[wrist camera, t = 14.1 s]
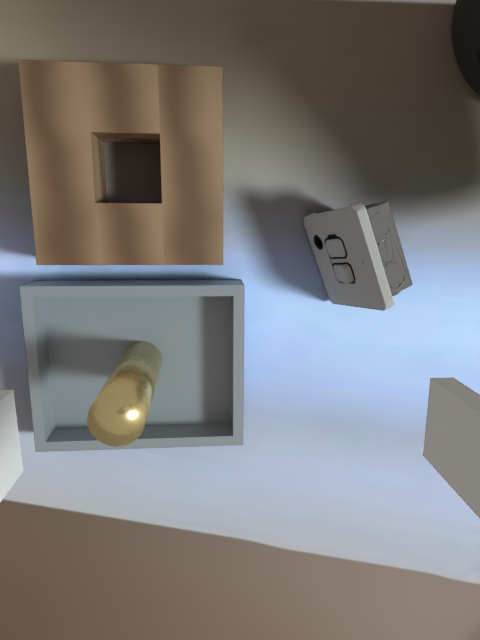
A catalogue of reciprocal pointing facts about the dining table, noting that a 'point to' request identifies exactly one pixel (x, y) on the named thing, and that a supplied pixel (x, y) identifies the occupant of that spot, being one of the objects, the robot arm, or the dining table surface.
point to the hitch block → (126, 127)
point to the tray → (111, 341)
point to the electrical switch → (359, 255)
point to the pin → (126, 396)
